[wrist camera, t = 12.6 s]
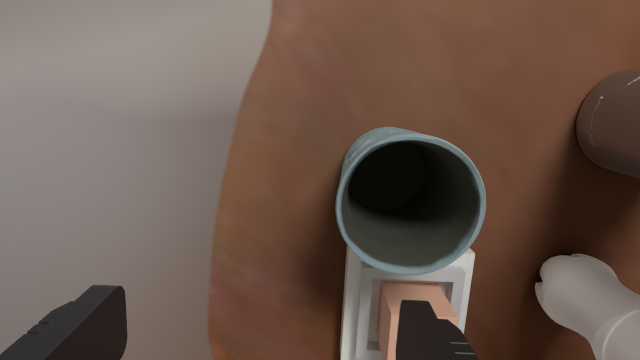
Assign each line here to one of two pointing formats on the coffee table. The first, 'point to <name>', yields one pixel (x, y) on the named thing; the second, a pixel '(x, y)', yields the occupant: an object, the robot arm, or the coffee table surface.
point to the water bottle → (591, 304)
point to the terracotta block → (391, 307)
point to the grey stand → (363, 300)
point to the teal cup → (408, 201)
